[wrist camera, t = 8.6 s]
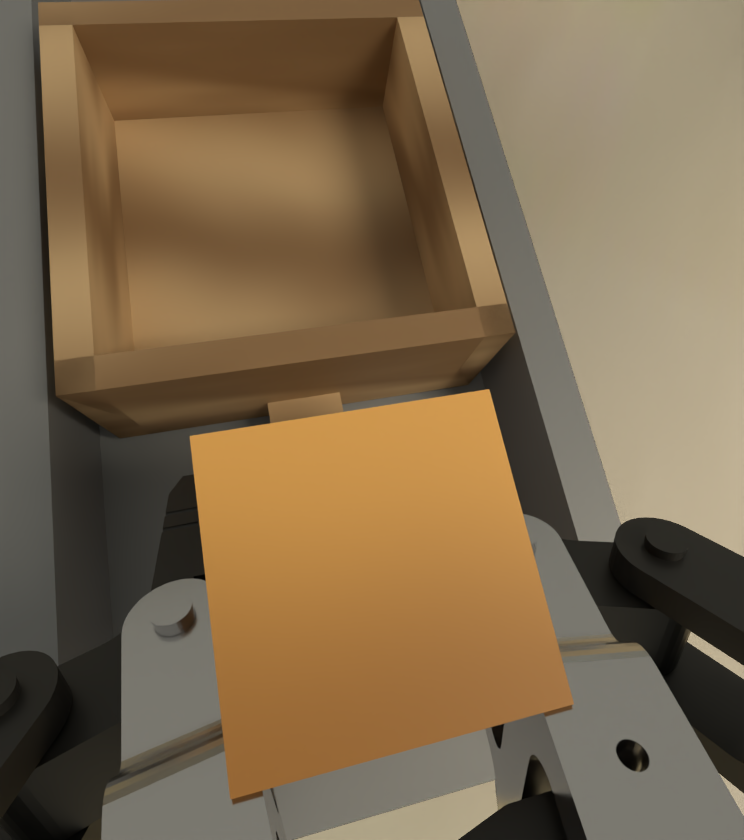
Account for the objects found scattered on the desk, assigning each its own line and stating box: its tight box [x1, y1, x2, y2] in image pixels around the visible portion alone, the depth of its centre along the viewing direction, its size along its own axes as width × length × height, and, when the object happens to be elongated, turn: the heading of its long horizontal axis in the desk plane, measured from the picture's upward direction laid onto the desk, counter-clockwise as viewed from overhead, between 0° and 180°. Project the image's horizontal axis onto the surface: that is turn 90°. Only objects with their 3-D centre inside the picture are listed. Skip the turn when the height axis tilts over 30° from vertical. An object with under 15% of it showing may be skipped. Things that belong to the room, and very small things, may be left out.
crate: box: [38, 0, 574, 799], centre depth 11 cm, size 17×10×10 cm, turn 11°
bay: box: [0, 0, 621, 840], centre depth 15 cm, size 30×14×4 cm, turn 11°
